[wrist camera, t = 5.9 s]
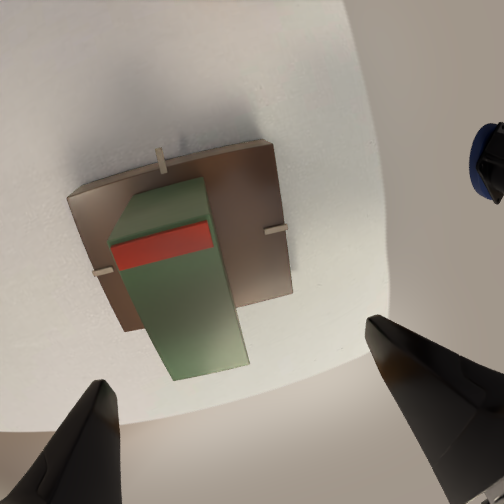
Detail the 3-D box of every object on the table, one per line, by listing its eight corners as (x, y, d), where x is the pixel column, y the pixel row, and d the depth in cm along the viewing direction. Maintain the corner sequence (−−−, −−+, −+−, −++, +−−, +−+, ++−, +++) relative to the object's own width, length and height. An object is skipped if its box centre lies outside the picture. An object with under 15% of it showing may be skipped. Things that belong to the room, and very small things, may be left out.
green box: (233, 296, 20) (250, 368, 14) (173, 310, 19) (173, 385, 14) (202, 176, 16) (210, 215, 11) (132, 195, 16) (104, 244, 10)
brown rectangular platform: (261, 121, 18) (272, 123, 15) (286, 286, 23) (296, 307, 21) (73, 170, 17) (57, 181, 14) (133, 322, 22) (129, 345, 20)
